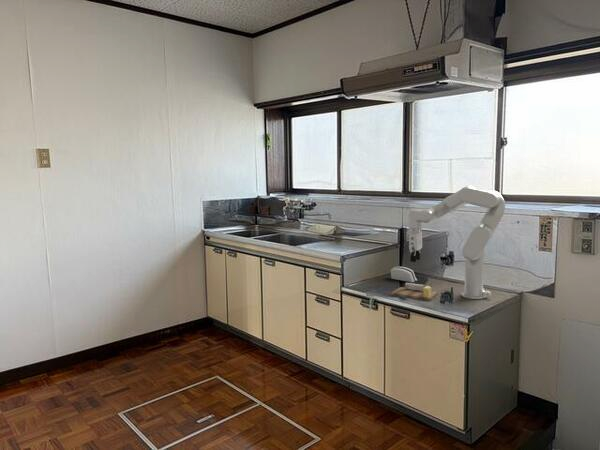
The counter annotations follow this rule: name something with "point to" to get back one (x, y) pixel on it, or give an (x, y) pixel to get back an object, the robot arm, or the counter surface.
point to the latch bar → (414, 286)
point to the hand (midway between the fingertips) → (415, 260)
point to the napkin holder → (403, 274)
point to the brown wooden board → (413, 294)
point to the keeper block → (426, 291)
